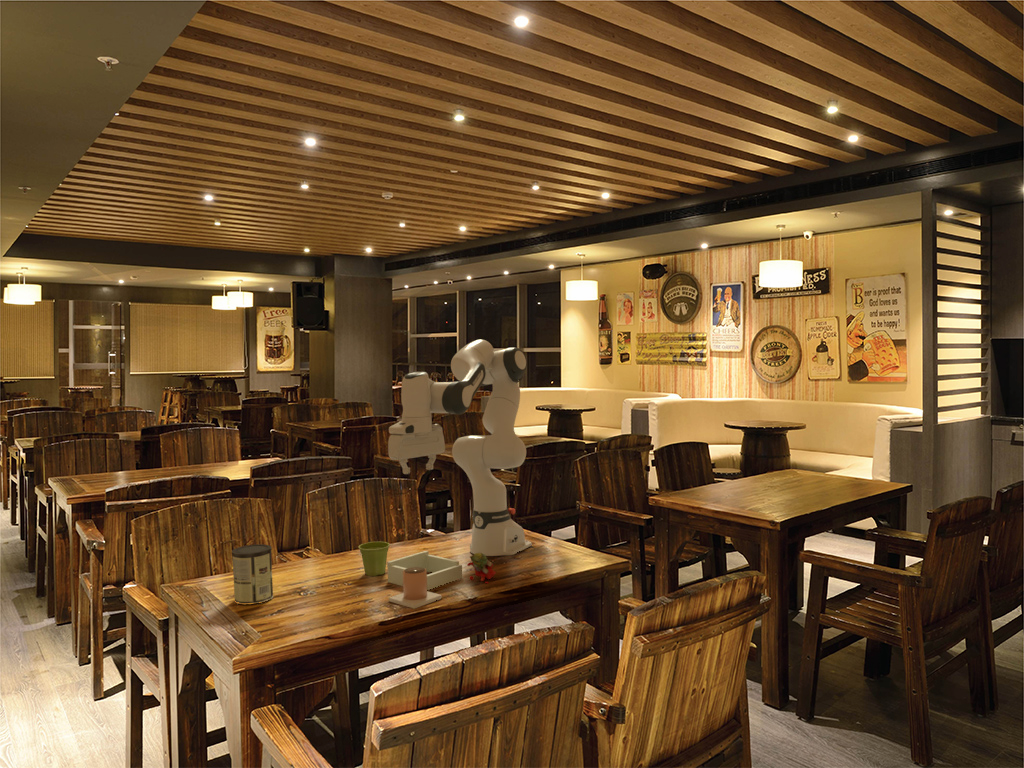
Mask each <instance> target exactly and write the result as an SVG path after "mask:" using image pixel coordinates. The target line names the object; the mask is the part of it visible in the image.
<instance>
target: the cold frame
mask: <svg viewBox="0 0 1024 768" xmlns="http://www.w3.org/2000/svg"><path fill="white" fill-rule="evenodd" d="M429 552H430V551H429V550H424V551H421V552H417V553H412V554H410V555H405V556H403V557H400V558H399V557H398V558H395V559H392V560H389V561H386V568H387V583H389V584H394V585H397V586H401V587H403V570H405V569H407V568H411V567H422V568H425V569H427V573H429V574H427V590H428V591H430V589H431V590H433V588H434V589H436V588H439V587H441V586H440V585H442V586H445V585H447V584H446V583H448V584H450V583H449V582H451V583H453V582H452V581H454V582H456V581H455V580H457V579H459V580H461V579H460V578H462V579H463V564H460V561H459V560H456V559H451V558H446V557H442V556H438V555H433V554H430V553H429ZM430 572H432V573H430ZM457 581H458V580H457ZM444 584H445V585H444ZM438 586H439V587H438ZM435 587H436V588H435Z"/></svg>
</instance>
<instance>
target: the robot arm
mask: <svg viewBox="0 0 1024 768" xmlns="http://www.w3.org/2000/svg"><path fill="white" fill-rule="evenodd" d="M527 366H528V363H527V357H526V355H525V353H524V351H523V350H521V348H518V347H507V348H505V349H499V350H494V347H493V345H492V344H491V343H490V342H489V341H487V340H485V339H476V340H472V341H471V342H469V343H467V344H466V345H464V346H463V347H462V348H461V349H459V350H458V351H456V353H455V354H454V355H453V357H452V359H451V362H450V369H451V372H452V374H453V376H454V377H455V379H456V380H457V381H446V382H445V381H443V382H441V381H440V382H439V381H435V380H432V379H431V378H430V377H429V374H428V373H427V372H426V371H414V372H408V373H406V374H405V375H404V376H403V378H402V381H401V382H402V383H401V394H400V396H401V399H400V400H401V406H402V414H401V420H400V421H398V422H396V423H395V424H392V425H391V426H389V427H388V432H389V434H390V435H389V437H388V445H387V447H388V448H387V449H388V450H387V451H388V452H387V454H388V457H389V459H390V460H391V461H399V464H400V466H401V469H402V474H404V475H409V474H411V467H408V464H407V463H408V459H414V458H421V457H422V458H423V457H426V456H427V458H428V461H427V463H425V469H426V471H431V470H434V463H435V461H436V459H437V455H439V454H440V455H441V454H444V452H445V450H446V445H445V444H446V442H445V436H444V432H443V427H442V426H441V425H440V424H439V423H435V424H433V422H432V414H451V415H459V416H460V415H463V414H465V413H466V412H467V411H468V409H469V408H470V407H471V405H472V401H473V398H474V397H475V395H476V393H477V392H478V391H479V389H480V388H481V387H483V386H484V387H487V386H489V385H492V391H491V393H490V395H489V397H488V400H487V403H486V406H485V410H484V413H483V415H482V419H481V421H482V424H483V427H484V428H485V430H486V431H488V433H489V434H488V435H485V434H484V435H476V434H475V435H473V434H472V435H465V436H462V437H457V439H456V440H454V443H453V445H452V449H451V455H452V459H453V460H454V462H455V463H456V465H458V467H460V468H461V469H462V470H463V471H464V472H465V473H466V474H465V475H466V476H467V477H468V479H469V482H470V484H471V488H472V497H473V510H472V521H473V524H472V528H471V529H472V530H471V531H472V532H471V543H470V544H469V552H470V553H471V554H473V555H474V554H475V553H482V554H484V555H485V556H486V557H494V556H495V557H498V556H514V555H515V554H518V553H519V551H520V552H521V551H523V550H525V549H527V548H529V547H532V545H533V543H532V542H531V541H529V540H528V539H527V540H526V539H525V538H526V536H525V531H524V528H523V527H522V526H521V525H520V524H518V523H516V522H515V521H514V520H513V519H512V518H511V515H515V514H516V509H515V508H511V507H509V508H508V506H507V505H508V504H507V488H506V485H505V484H504V482H502V480H501V479H498V478H496V477H495V476H494V475H493V472H492V471H491V469H494V470H495V469H497V470H499V469H503V470H507V469H509V470H510V469H514V468H518V467H519V468H520V466H522V465H523V463H524V462H525V460H526V456H527V447H526V444H525V443H524V441H523V440H522V439H521V438H520V437H518V435H517V434H516V432H515V423H516V419H517V414H518V412H519V411H518V410H519V407H520V401H521V389H520V386H519V385H518V383H520V382H521V381H522V380H523V377H524V375H525V373H526V370H527ZM517 552H518V553H517Z"/></svg>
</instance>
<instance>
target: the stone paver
mask: <svg viewBox="0 0 1024 768" xmlns="http://www.w3.org/2000/svg"><path fill="white" fill-rule="evenodd" d="M442 597H443V596H442V594H439V593H436V592H432V591H429V590H428V591H427V597H426V598H424V599H420V600H407V599H405V598H404V596H403V592H402V593H399V594H396V595H393V596H390V597H388V602H390V603H393V604H397V605H400V606H403V607H408V608H409V609H414V610H416V609H418V608H420V607H423V606H426V605H428V604H431V603H434V602H436V600H437V601H439V600H442V599H441V598H442Z"/></svg>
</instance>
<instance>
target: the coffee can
mask: <svg viewBox="0 0 1024 768" xmlns="http://www.w3.org/2000/svg"><path fill="white" fill-rule="evenodd" d="M272 548H273V547H272V546H271V545H269V544H264V543H263V544H260V543H259V544H249V545H243V546H239V547H235V548H234V549H232V551H231V556H232V568H233V569H232V571H233V572H232V573H233V594H234V600H235V601H236V602H239V603H259V602H265V601H268V600H270V599H271V600H272V599H273V598H274V590H273V589H274V586H273V562H272V560H273V559H272V550H273V549H272ZM271 600H270V601H271ZM268 602H269V601H268ZM265 603H266V602H265Z"/></svg>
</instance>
